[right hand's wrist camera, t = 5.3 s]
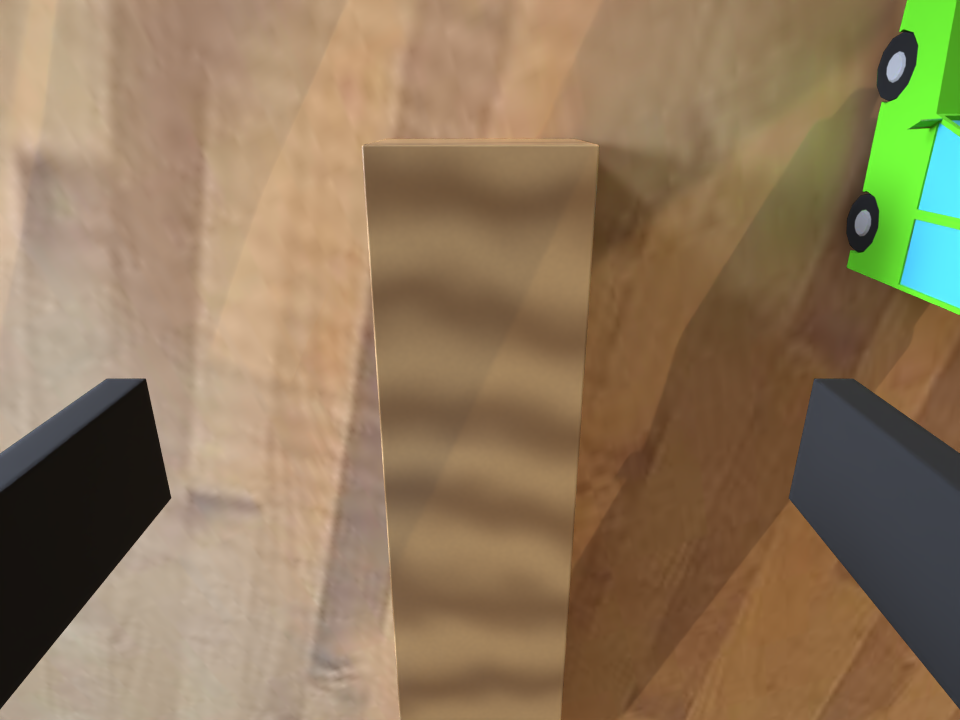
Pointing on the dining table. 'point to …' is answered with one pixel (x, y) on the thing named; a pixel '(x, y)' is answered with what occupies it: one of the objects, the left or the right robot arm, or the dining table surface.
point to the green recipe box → (915, 162)
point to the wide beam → (480, 411)
